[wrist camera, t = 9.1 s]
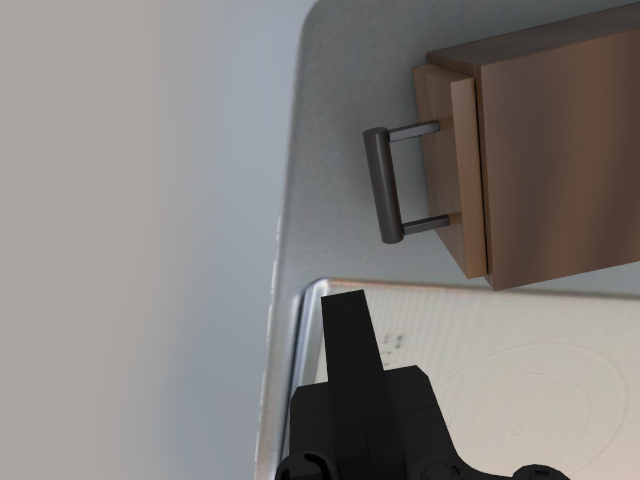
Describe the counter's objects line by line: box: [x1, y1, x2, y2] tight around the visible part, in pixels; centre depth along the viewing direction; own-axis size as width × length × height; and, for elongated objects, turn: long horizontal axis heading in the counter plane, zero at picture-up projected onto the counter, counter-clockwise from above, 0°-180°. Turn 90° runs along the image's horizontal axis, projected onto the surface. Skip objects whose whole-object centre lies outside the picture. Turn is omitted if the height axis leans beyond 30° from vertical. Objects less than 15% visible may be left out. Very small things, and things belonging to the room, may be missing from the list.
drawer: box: [363, 64, 487, 279], centre depth 28 cm, size 18×11×8 cm, turn 102°
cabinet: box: [427, 2, 640, 291], centre depth 28 cm, size 15×13×10 cm
